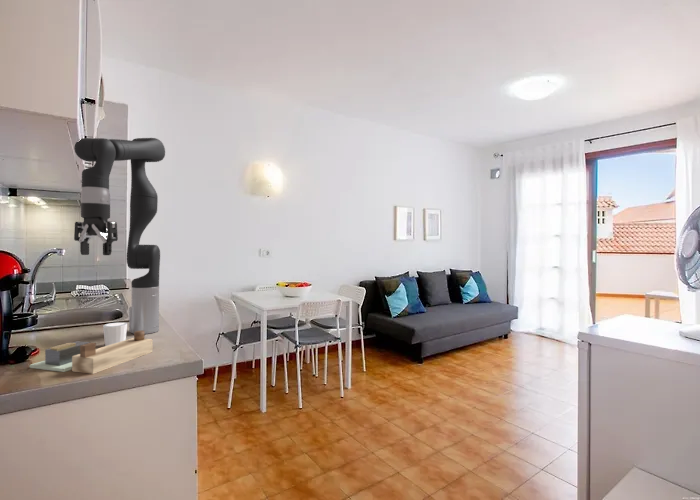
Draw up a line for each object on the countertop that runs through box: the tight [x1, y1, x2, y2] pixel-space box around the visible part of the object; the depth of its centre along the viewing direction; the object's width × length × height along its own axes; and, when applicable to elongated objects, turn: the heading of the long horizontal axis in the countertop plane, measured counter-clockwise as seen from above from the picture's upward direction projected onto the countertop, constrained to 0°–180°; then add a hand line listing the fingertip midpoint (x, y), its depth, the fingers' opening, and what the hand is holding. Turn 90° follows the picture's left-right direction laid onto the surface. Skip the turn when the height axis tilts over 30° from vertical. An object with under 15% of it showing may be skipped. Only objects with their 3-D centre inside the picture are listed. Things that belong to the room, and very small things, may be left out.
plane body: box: [71, 331, 154, 375], centre depth 106 cm, size 7×20×7 cm, turn 166°
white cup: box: [102, 321, 128, 347], centre depth 122 cm, size 7×7×7 cm
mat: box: [29, 360, 72, 373], centre depth 104 cm, size 12×12×1 cm
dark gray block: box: [44, 340, 92, 366], centre depth 104 cm, size 5×9×5 cm, turn 166°
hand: (95, 255), depth 115 cm, fingers open, 8 cm apart
